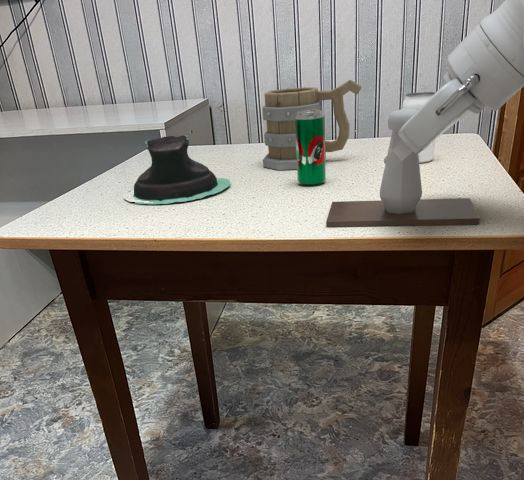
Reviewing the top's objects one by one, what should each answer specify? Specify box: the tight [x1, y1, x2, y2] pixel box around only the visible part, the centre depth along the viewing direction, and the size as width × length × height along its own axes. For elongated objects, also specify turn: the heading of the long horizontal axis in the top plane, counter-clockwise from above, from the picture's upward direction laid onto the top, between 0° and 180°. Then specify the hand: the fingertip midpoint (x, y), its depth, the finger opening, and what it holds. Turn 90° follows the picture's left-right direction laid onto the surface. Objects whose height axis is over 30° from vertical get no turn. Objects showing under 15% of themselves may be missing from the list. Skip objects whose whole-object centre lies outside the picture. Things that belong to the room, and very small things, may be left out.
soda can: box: [295, 109, 327, 187], centre depth 94 cm, size 5×5×12 cm
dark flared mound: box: [132, 134, 231, 205], centre depth 98 cm, size 15×19×20 cm
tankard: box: [262, 79, 363, 171], centre depth 109 cm, size 20×13×15 cm, turn 80°
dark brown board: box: [325, 197, 481, 228], centre depth 76 cm, size 20×10×1 cm, turn 79°
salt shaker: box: [379, 108, 423, 214], centre depth 73 cm, size 6×6×13 cm
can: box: [401, 91, 437, 164], centre depth 103 cm, size 6×6×12 cm
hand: (398, 156), depth 73 cm, fingers open, 8 cm apart
